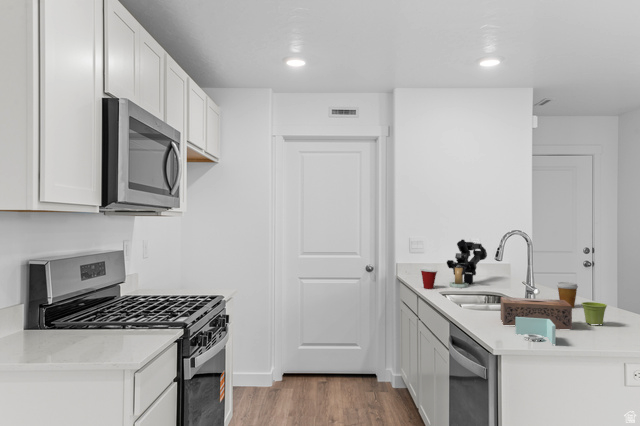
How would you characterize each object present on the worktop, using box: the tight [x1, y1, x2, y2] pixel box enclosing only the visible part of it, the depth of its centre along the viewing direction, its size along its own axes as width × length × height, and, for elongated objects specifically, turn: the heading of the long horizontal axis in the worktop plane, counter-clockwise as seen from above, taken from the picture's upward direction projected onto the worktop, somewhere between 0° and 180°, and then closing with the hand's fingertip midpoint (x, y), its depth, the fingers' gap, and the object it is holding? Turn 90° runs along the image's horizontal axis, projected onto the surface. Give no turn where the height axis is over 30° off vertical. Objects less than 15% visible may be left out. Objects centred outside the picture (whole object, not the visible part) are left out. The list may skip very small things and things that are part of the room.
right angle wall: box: [514, 317, 557, 345], centre depth 174 cm, size 12×12×8 cm
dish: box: [449, 281, 469, 289], centre depth 309 cm, size 11×11×2 cm
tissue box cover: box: [500, 296, 573, 330], centre depth 200 cm, size 26×14×10 cm, turn 73°
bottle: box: [454, 265, 464, 284], centre depth 309 cm, size 5×5×13 cm
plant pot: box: [581, 301, 608, 325], centre depth 200 cm, size 9×9×9 cm
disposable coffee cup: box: [556, 281, 579, 309], centre depth 239 cm, size 10×10×12 cm
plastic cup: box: [420, 268, 438, 290], centre depth 300 cm, size 11×11×12 cm
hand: (457, 274), depth 308 cm, fingers closed on bottle, 5 cm apart
